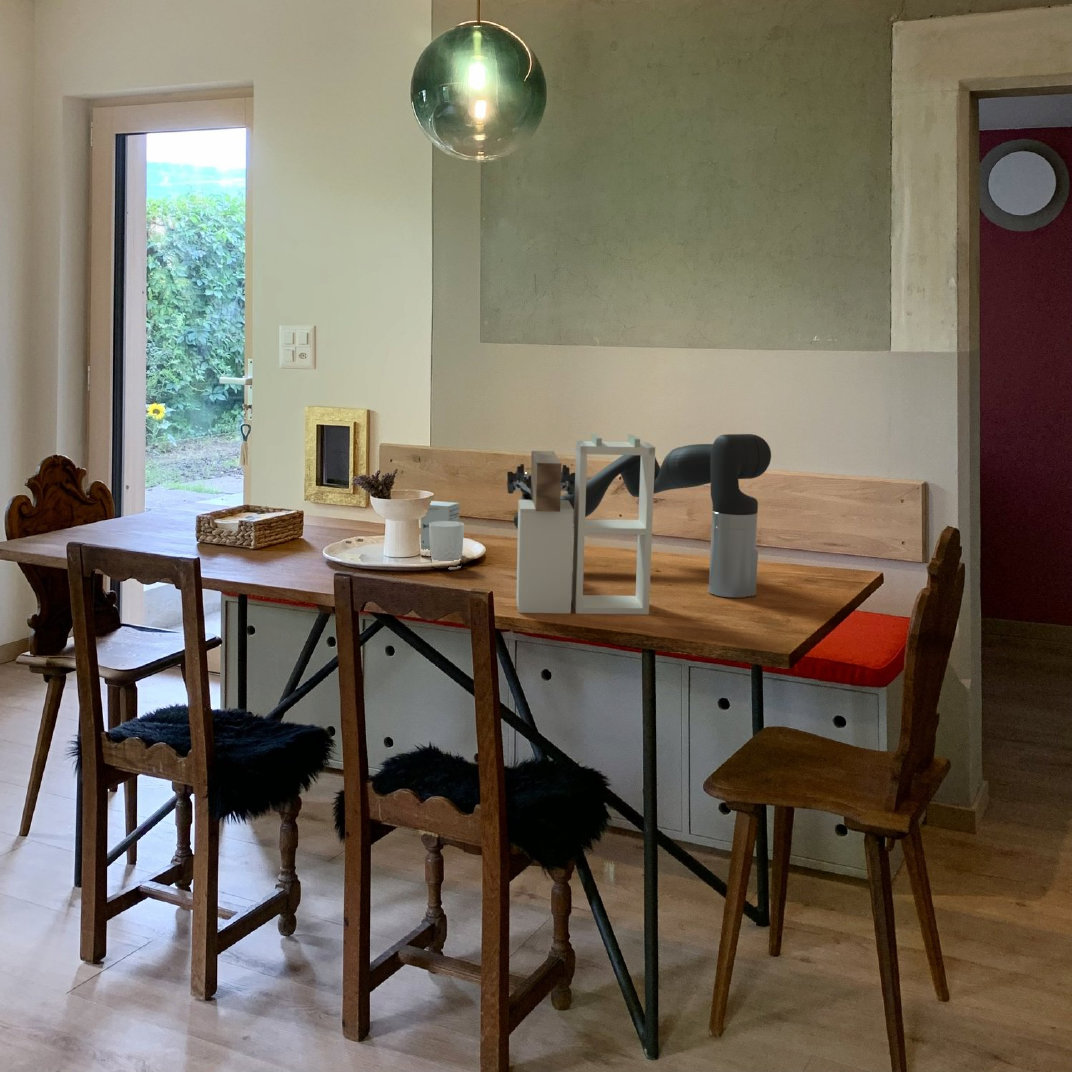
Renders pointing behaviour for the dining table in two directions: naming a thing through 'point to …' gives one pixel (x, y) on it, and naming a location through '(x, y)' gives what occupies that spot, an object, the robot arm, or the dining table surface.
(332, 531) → the dining table surface
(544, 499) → the walnut block
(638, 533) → the step shelf
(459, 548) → the pale blue cup
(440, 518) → the supplement box
